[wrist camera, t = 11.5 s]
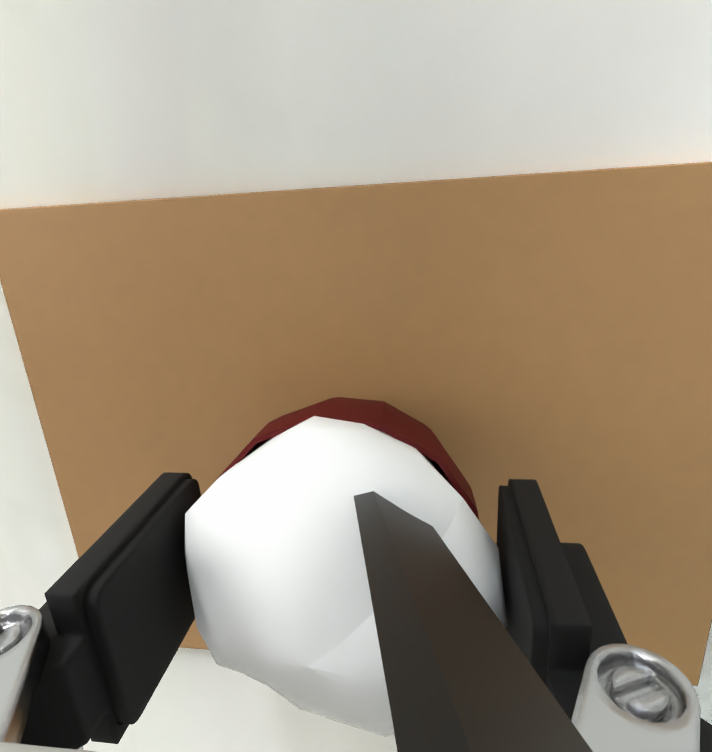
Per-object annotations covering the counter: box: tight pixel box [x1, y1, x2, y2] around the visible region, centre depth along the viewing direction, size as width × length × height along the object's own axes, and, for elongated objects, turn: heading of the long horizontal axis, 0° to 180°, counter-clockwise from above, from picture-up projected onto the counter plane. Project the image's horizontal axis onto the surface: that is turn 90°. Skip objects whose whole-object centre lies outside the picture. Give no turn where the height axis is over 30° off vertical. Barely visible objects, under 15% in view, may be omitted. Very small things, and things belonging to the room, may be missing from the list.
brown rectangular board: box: [0, 162, 712, 686], centre depth 15 cm, size 20×15×1 cm
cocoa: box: [184, 397, 593, 752], centre depth 9 cm, size 10×6×12 cm, turn 128°
